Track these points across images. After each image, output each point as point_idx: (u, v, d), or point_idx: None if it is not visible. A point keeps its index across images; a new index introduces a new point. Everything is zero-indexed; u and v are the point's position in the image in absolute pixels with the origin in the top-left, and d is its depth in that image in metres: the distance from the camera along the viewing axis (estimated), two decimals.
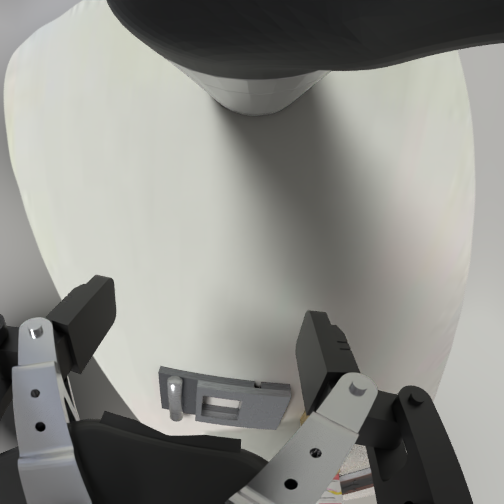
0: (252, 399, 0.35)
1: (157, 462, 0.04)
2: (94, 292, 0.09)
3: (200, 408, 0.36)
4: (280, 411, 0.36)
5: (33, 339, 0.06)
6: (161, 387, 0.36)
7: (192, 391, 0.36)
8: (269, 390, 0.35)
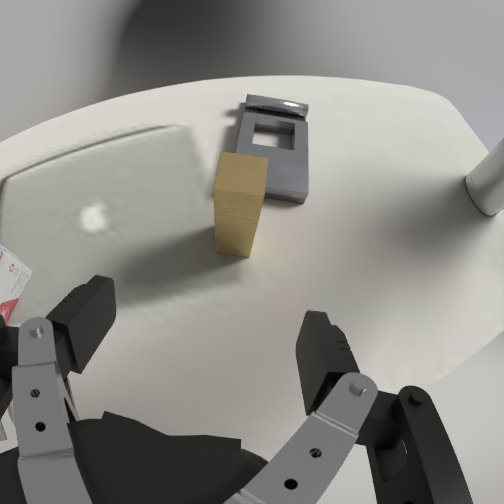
0: (299, 158, 0.34)
1: (157, 462, 0.04)
2: (94, 292, 0.09)
3: (270, 118, 0.36)
4: (277, 183, 0.32)
5: (33, 339, 0.06)
6: None
7: None
8: None
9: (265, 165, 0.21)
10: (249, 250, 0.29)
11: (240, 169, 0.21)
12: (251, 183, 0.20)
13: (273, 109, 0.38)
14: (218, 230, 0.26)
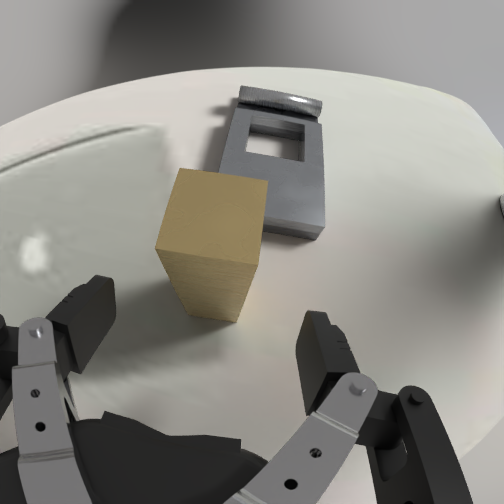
0: (311, 174, 0.24)
1: (157, 462, 0.04)
2: (94, 292, 0.09)
3: (271, 117, 0.26)
4: (280, 212, 0.22)
5: (33, 339, 0.06)
6: None
7: None
8: None
9: (262, 196, 0.11)
10: (236, 317, 0.19)
11: (212, 203, 0.10)
12: (232, 237, 0.10)
13: (275, 105, 0.28)
14: (184, 297, 0.15)
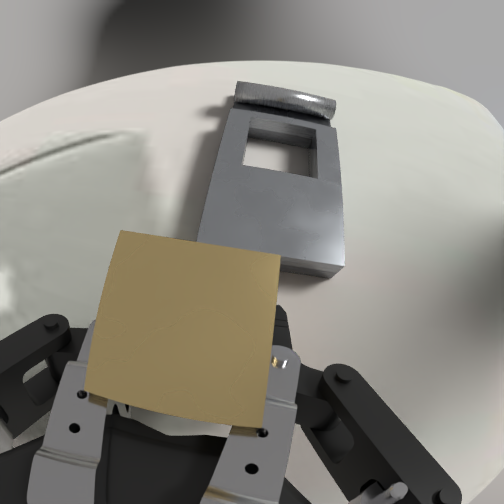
0: (326, 194, 0.19)
1: (157, 462, 0.04)
2: None
3: (275, 120, 0.21)
4: (288, 247, 0.17)
5: None
6: None
7: None
8: None
9: (269, 290, 0.06)
10: None
11: (175, 309, 0.05)
12: (214, 379, 0.05)
13: (279, 105, 0.23)
14: None
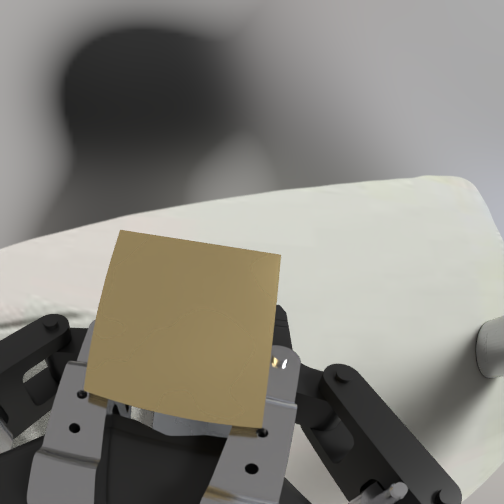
0: None
1: (157, 462, 0.04)
2: None
3: None
4: None
5: None
6: None
7: None
8: None
9: (269, 290, 0.06)
10: None
11: (175, 309, 0.05)
12: (214, 379, 0.05)
13: None
14: None
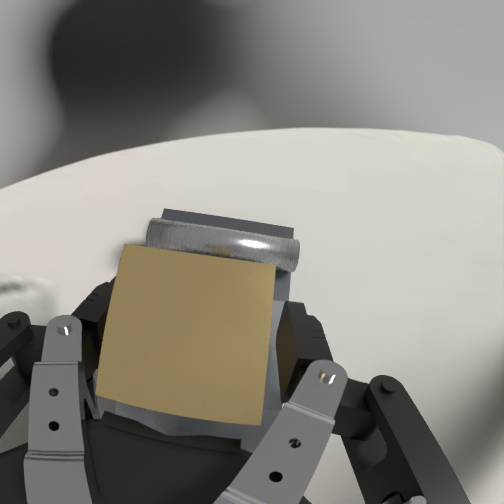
0: (257, 430, 0.13)
1: (157, 462, 0.04)
2: None
3: None
4: None
5: (63, 337, 0.06)
6: (243, 223, 0.19)
7: None
8: None
9: (266, 298, 0.06)
10: None
11: (178, 317, 0.06)
12: (216, 381, 0.05)
13: None
14: None
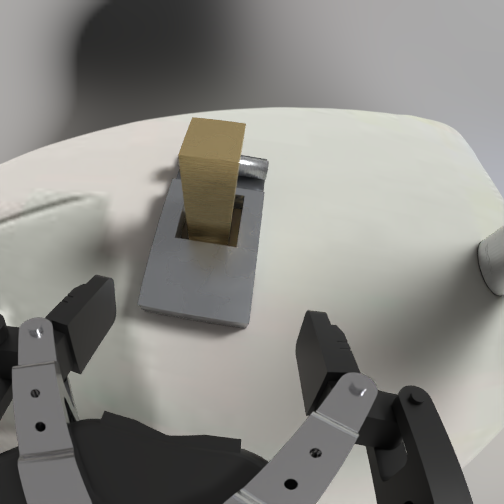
0: (242, 262, 0.24)
1: (157, 462, 0.04)
2: (94, 292, 0.09)
3: None
4: (204, 309, 0.22)
5: (33, 339, 0.06)
6: None
7: None
8: None
9: (242, 131, 0.17)
10: (226, 239, 0.25)
11: (212, 134, 0.17)
12: (224, 149, 0.16)
13: None
14: (189, 212, 0.22)
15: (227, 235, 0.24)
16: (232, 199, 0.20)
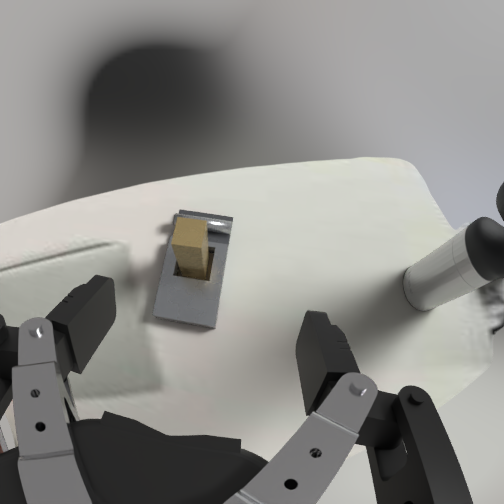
0: (212, 290, 0.40)
1: (157, 462, 0.04)
2: (94, 292, 0.09)
3: None
4: (190, 317, 0.38)
5: (33, 339, 0.06)
6: (212, 215, 0.47)
7: (210, 240, 0.45)
8: None
9: (204, 226, 0.34)
10: (204, 275, 0.42)
11: (188, 229, 0.33)
12: (194, 240, 0.33)
13: None
14: (180, 263, 0.38)
15: (203, 274, 0.41)
16: (202, 260, 0.36)
